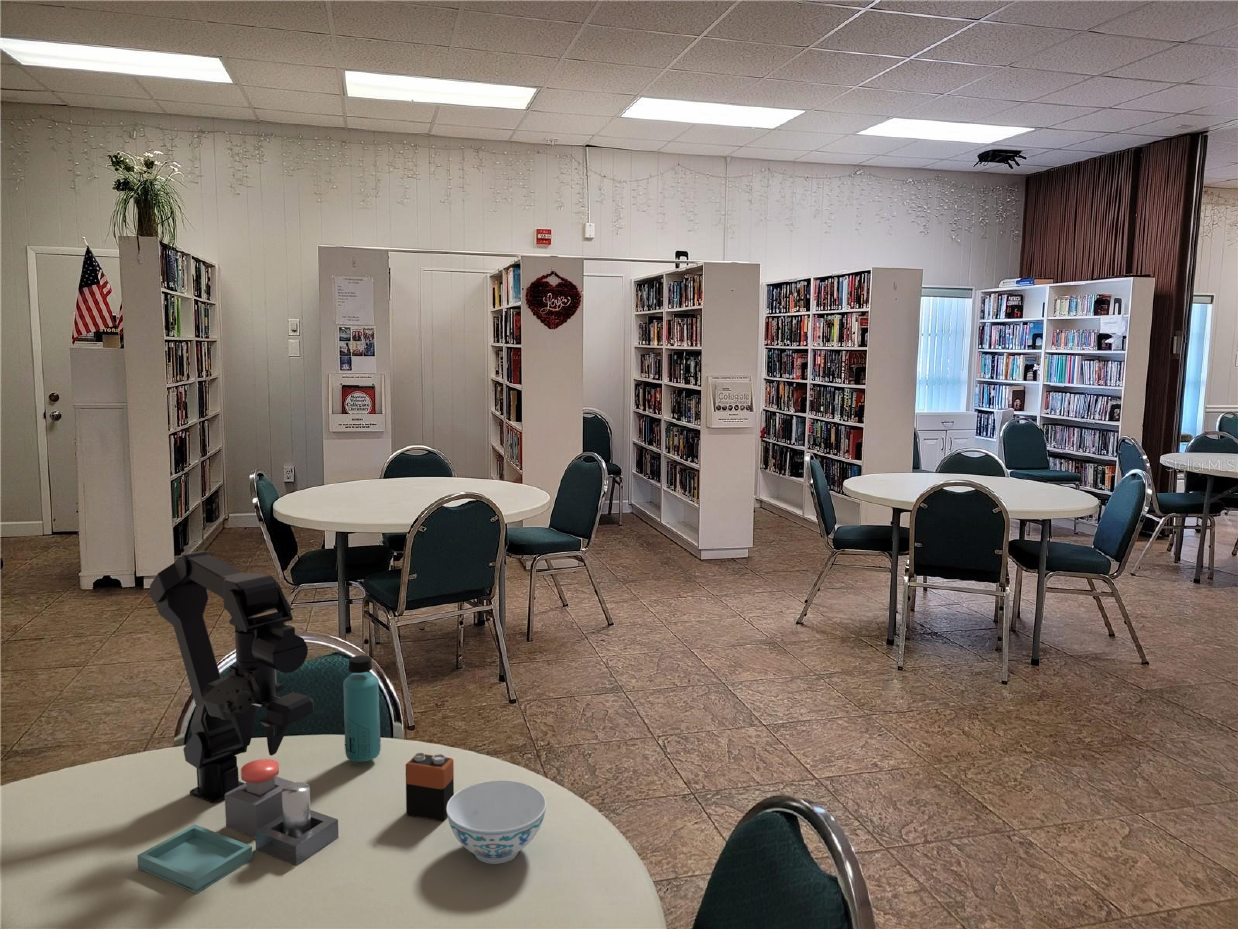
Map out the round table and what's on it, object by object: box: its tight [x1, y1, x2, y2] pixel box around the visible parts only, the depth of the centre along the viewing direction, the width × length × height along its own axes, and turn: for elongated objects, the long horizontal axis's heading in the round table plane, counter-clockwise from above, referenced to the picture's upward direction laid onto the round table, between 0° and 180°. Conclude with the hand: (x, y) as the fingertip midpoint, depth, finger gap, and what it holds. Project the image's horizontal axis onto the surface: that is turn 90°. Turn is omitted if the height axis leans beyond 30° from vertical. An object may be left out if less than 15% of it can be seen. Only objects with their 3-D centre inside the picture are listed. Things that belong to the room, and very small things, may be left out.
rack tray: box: [136, 824, 253, 894], centre depth 132 cm, size 13×10×2 cm
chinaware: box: [446, 779, 547, 865], centre depth 136 cm, size 15×15×8 cm
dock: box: [224, 775, 296, 838], centre depth 144 cm, size 7×8×6 cm
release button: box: [240, 758, 280, 796], centre depth 143 cm, size 6×6×4 cm
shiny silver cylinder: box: [282, 781, 311, 839], centre depth 137 cm, size 4×4×9 cm
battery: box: [405, 752, 455, 822], centre depth 147 cm, size 4×7×10 cm, turn 75°
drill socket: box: [254, 809, 339, 866], centre depth 138 cm, size 8×8×3 cm
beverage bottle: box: [342, 654, 382, 763], centre depth 163 cm, size 6×7×20 cm
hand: (259, 750), depth 143 cm, fingers open, 6 cm apart
